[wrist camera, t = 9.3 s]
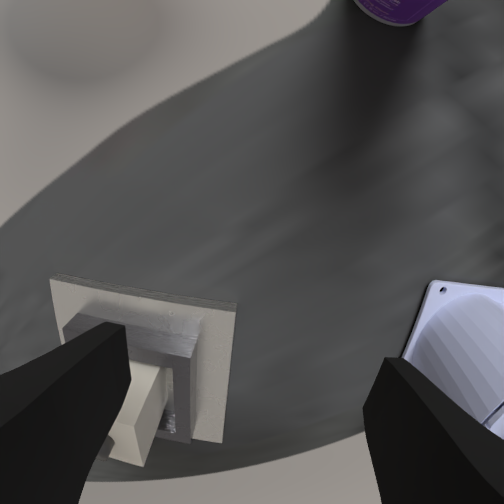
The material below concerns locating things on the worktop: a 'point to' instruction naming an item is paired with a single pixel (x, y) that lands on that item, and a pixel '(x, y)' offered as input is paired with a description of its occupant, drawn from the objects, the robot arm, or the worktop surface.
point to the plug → (137, 415)
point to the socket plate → (162, 345)
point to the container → (398, 10)
